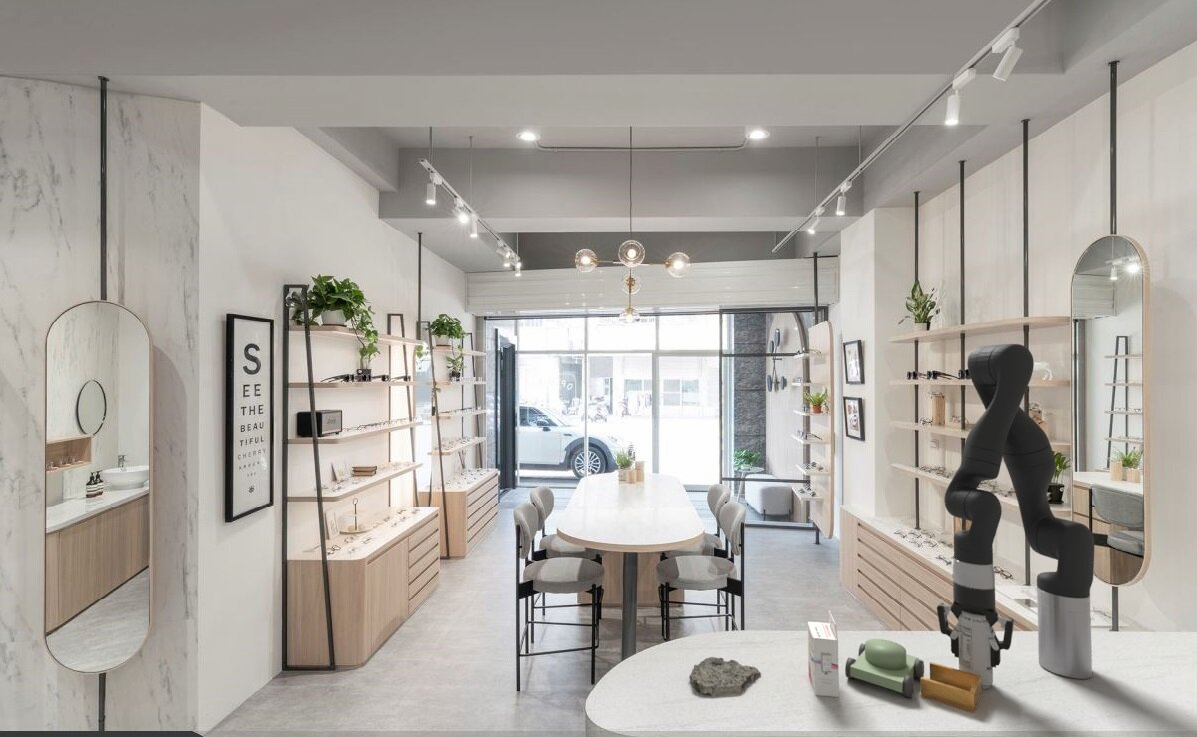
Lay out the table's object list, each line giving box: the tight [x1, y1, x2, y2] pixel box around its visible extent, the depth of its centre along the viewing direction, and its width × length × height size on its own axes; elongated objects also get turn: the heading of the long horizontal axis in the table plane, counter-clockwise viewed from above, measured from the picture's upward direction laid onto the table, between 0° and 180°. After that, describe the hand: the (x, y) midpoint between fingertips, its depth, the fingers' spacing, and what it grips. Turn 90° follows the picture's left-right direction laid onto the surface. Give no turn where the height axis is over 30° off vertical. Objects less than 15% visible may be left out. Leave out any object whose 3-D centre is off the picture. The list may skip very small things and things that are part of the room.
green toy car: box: [844, 638, 925, 699], centre depth 122 cm, size 14×12×6 cm
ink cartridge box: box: [807, 609, 840, 698], centre depth 119 cm, size 9×5×15 cm, turn 168°
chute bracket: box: [920, 661, 983, 714], centre depth 116 cm, size 9×9×4 cm
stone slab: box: [689, 656, 761, 697], centre depth 122 cm, size 12×17×3 cm
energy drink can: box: [957, 611, 994, 690], centre depth 121 cm, size 6×6×15 cm
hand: (975, 660), depth 121 cm, fingers closed on energy drink can, 6 cm apart
